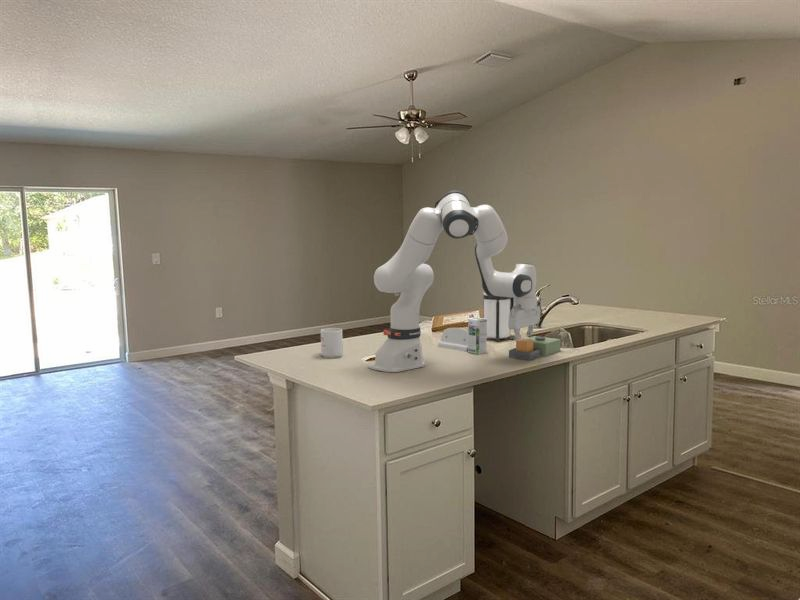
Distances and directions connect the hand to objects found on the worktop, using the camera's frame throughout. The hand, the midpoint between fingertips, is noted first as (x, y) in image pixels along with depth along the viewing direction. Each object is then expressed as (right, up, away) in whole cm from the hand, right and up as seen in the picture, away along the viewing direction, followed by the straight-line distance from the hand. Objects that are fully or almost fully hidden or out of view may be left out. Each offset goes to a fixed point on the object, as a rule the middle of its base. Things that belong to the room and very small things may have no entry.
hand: (524, 337), depth 244 cm
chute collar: (0, -8, 0) cm, 8 cm away
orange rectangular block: (0, -8, 0) cm, 8 cm away
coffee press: (-4, -3, +39) cm, 40 cm away
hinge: (-25, -6, +20) cm, 33 cm away
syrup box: (-18, -7, +10) cm, 21 cm away
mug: (-79, -8, +8) cm, 80 cm away
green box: (+9, -7, +10) cm, 15 cm away
